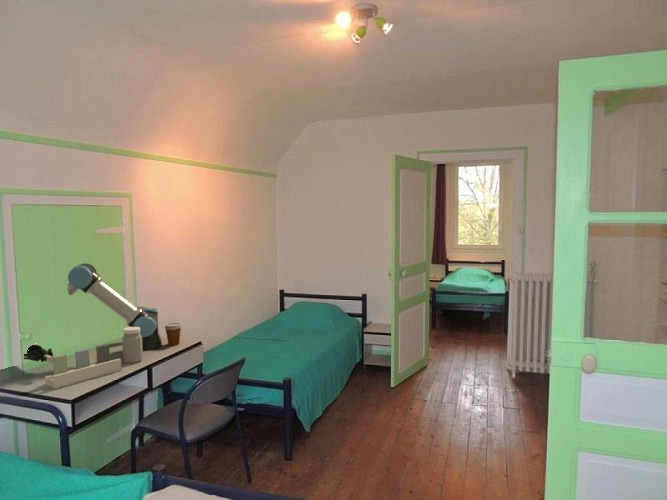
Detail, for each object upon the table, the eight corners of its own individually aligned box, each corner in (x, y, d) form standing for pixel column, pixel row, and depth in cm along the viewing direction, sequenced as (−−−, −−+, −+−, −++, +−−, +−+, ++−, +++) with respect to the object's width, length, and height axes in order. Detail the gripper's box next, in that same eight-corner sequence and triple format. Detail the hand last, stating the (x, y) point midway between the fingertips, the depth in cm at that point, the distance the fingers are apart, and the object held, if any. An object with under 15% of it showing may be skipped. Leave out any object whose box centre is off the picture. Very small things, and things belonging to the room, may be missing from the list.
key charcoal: (97, 369, 235) (96, 346, 234) (107, 366, 239) (106, 344, 238) (100, 370, 233) (98, 347, 232) (110, 368, 237) (108, 345, 236)
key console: (45, 384, 218) (44, 371, 218) (111, 366, 242) (110, 355, 242) (54, 389, 212) (54, 376, 211) (121, 370, 236) (120, 359, 236)
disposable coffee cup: (176, 346, 277) (176, 326, 276) (162, 345, 279) (161, 326, 278) (185, 342, 286) (184, 323, 285) (171, 341, 288) (170, 322, 287)
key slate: (76, 375, 227) (75, 351, 226) (87, 372, 231) (85, 348, 230) (79, 376, 225) (77, 352, 224) (89, 373, 229) (88, 349, 228)
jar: (138, 357, 258) (137, 325, 256) (146, 361, 251) (144, 328, 249) (120, 361, 251) (118, 328, 249) (127, 365, 244) (126, 331, 242)
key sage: (54, 381, 219) (52, 356, 218) (65, 378, 223) (64, 353, 222) (56, 382, 217) (55, 357, 216) (68, 379, 221) (66, 354, 220)
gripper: (46, 355, 246) (65, 364, 231) (18, 361, 235) (36, 371, 221) (45, 341, 245) (65, 349, 230) (17, 346, 235) (35, 355, 220)
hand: (51, 359), depth 226 cm, fingers closed
